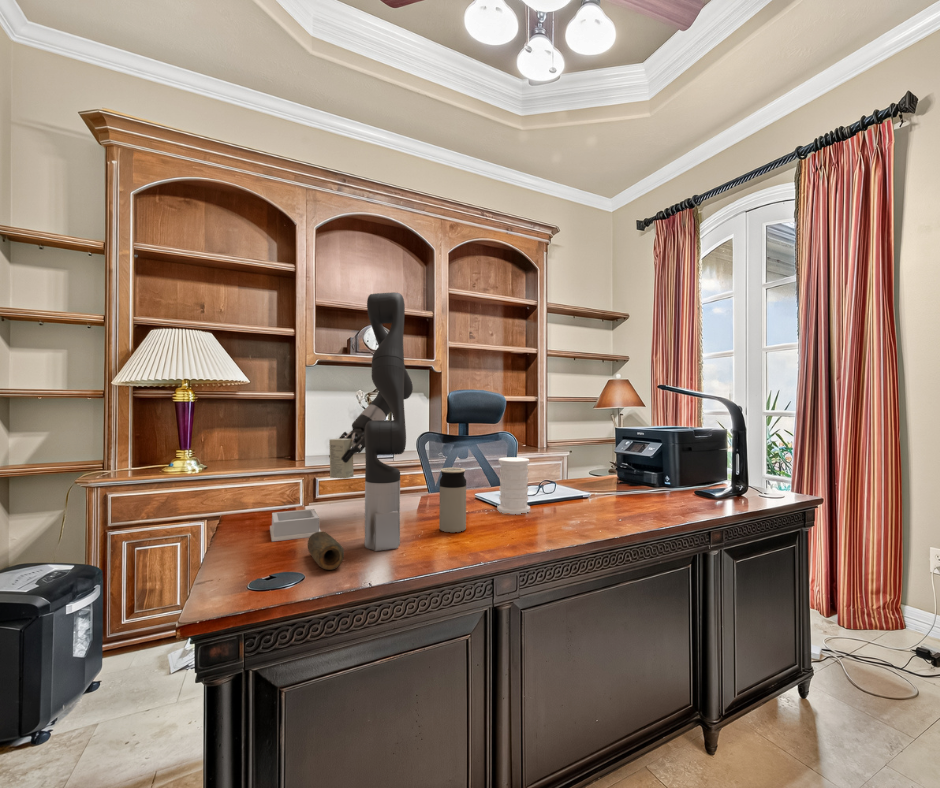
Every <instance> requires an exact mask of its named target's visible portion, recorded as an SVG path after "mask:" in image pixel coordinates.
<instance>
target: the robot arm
mask: <svg viewBox="0 0 940 788" xmlns="http://www.w3.org/2000/svg"><path fill="white" fill-rule="evenodd" d="M366 301H367V302H366V309H367V310H366V311H367V316H368V320H369V323H370V326H371V328H372V331H373V335H374V337H375V340H376V343H377V346H378V347H376V349H375V351H374V353H373V355H372V358H371V381H372V382H373V385H374V387H375V388H376V390H377V391H378V393H377V395H376V396H375V398H374V399H373V400H372V401H371V402H370V403H369V405H368V406H367V407H365V408H364V410H362V411H361V413H360V414H359V415H358V417H356V418H355V420H354V421H353V422H352V423H351V428H352V429H351V431H350V432H348V433H347V432H346V431H344V432H343V433H342V434H341V435H340V436H339V438H338V439H352V440H351V442H350V444H351V445H350V448H349V449H350V450H349V449H348V450H347V451H346V453H345V454H344V455H343V456H342V458H341V460H342V461H343V462H345V463H347V462H348V461H349V459H350V458H351V457H352V456H353V457H354V455H356V454H360V453H361V452H362V451H363V450H364V451H365V452H364V454H365V457H364V458H365V469H364V470H365V475H364V547H365V548H366V549H367V550H373V551H375V552H379V551H387V550H394V549H399V546H400V545H401V544H400V543H401V542H400V541H401V536H400V535H401V471H400V469H399V468H397V467H394V466H391V465H389V464H386V463H384V462H383V461H381V460H380V459H379V458H378V456H390V455H392V456H394V455H395V456H396V455H402V454H404V453H405V450H406V444H407V429H406V415H405V414H406V413H405V412H406V411H405V401H404V400H407V399H410V397H411V395H412V394H413V389H414V388H413V382H412V379H411V377H410V375H409V373H408V372H409V371H407V369H406V365H405V357H404V356H405V351H404V332H405V330H404V329H405V311H406V309H405V308H406V307H405V306H406V305H405V299H404V296H403V295H402V294H401V293H400V292H379V293H370V294H369V295H368V297H367V299H366ZM383 324H391V326H390V328H389V331H388V332H387V331H386V329H385V327H384V326H383ZM390 414H391V415H392V418H393V419H392V420H391V419H390V420H389V419H388V420H385V419H386V418H387V417H388V416H389V415H390ZM328 458H329V459H330V454H329V455H328Z"/></svg>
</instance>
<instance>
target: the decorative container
mask: <svg viewBox="0 0 940 788" xmlns="http://www.w3.org/2000/svg"><path fill="white" fill-rule="evenodd" d="M498 464H500V468H499V474H500V477H499V484H500V485H499V488H498V489H499V492H500V495H499V501H500V503H499V506H498V505H497V507H496V508H497V509H496V510H498V511H499V512H498V511H497V512H498V513H501V512H502V513H501V514H504V513H510V514H509V515H515V514H516V515H522V514H521V513H526V514H528V513H527V512H529V511H530V512H531V506H530V505H528V501H529V495H528V491H529V487H528V483H529V477H528V474H529V469H528V465H529V464H530V459H529V458H527V457H514V456H512V457H500V458H498ZM530 512H529V513H530Z"/></svg>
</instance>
